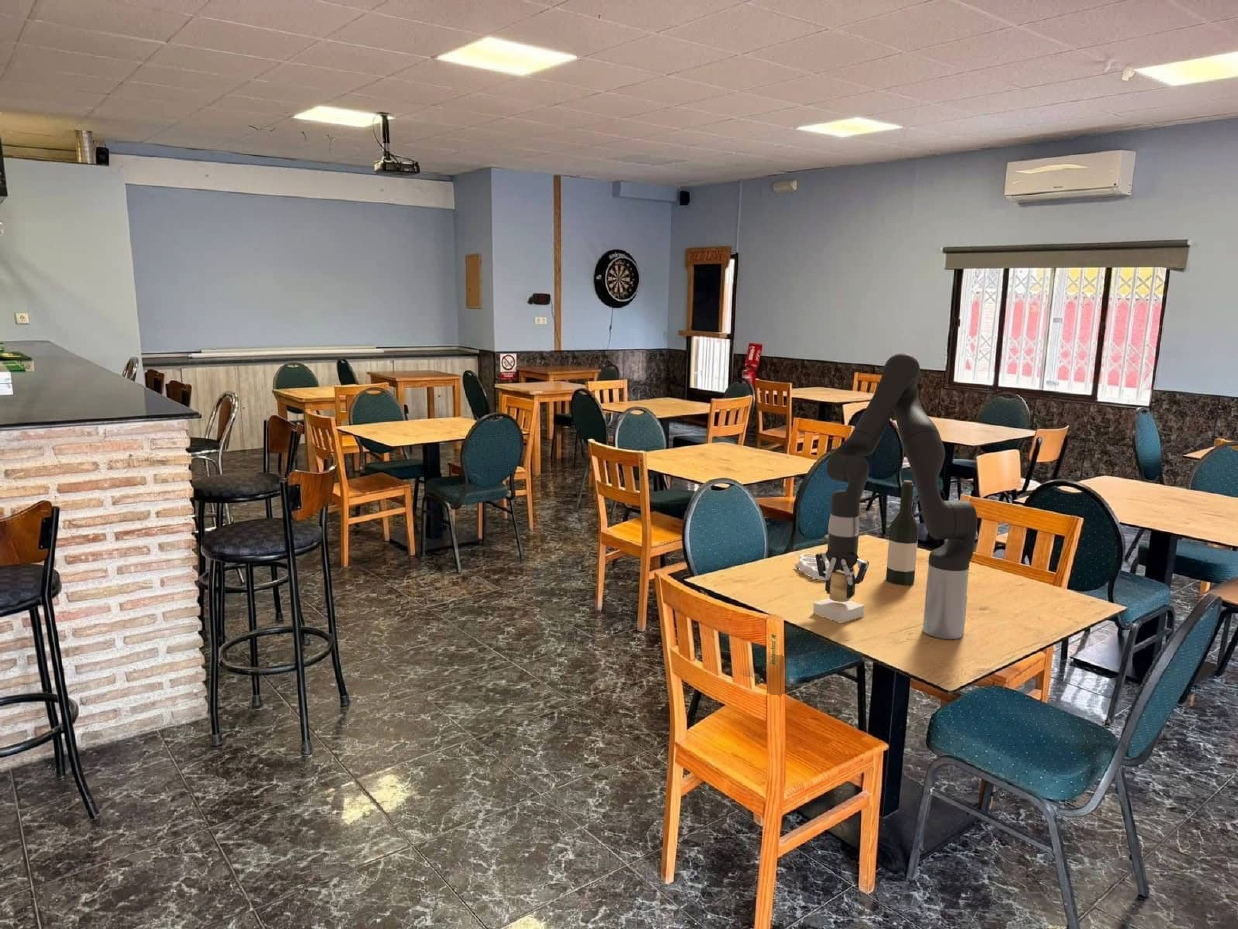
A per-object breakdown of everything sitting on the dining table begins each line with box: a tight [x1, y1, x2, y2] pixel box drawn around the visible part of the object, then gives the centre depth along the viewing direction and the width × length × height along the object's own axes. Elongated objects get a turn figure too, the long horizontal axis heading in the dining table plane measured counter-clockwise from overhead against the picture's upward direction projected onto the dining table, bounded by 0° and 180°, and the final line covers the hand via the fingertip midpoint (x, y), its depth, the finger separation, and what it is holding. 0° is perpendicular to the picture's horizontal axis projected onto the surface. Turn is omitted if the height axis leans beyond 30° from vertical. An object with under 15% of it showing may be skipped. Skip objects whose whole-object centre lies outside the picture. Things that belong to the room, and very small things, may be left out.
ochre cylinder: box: [828, 570, 850, 602], centre depth 215 cm, size 5×5×7 cm
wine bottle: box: [885, 479, 920, 587], centre depth 242 cm, size 8×8×30 cm
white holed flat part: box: [793, 553, 830, 581], centre depth 252 cm, size 3×18×15 cm
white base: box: [812, 597, 865, 624], centre depth 216 cm, size 9×9×3 cm
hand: (839, 595), depth 215 cm, fingers closed on ochre cylinder, 4 cm apart
